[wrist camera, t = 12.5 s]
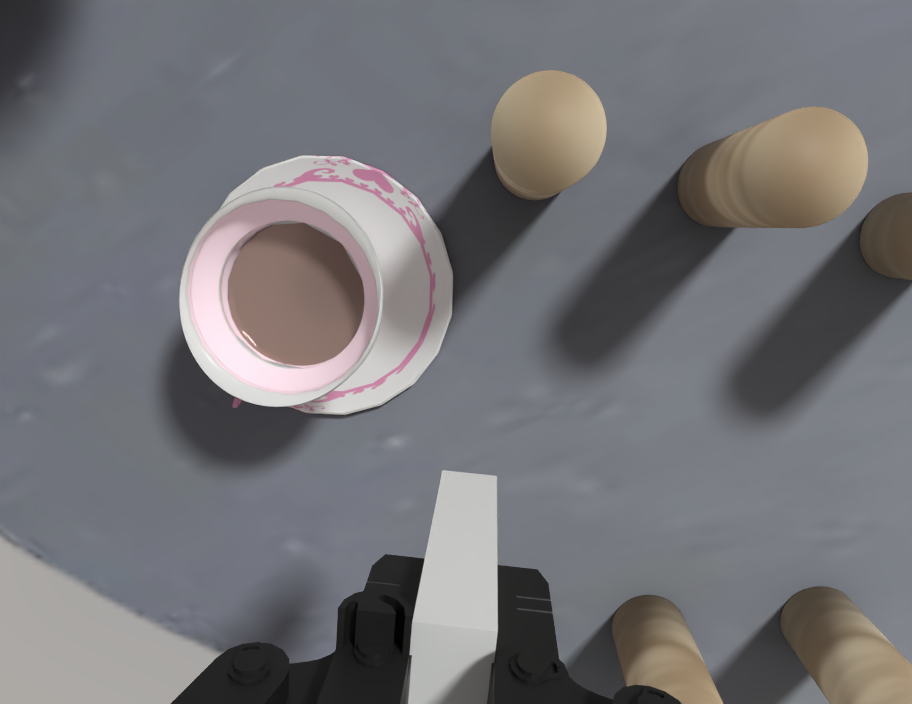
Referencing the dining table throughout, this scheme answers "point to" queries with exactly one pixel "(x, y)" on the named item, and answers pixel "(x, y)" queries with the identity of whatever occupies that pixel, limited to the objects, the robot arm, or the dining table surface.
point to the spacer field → (744, 206)
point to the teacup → (317, 288)
